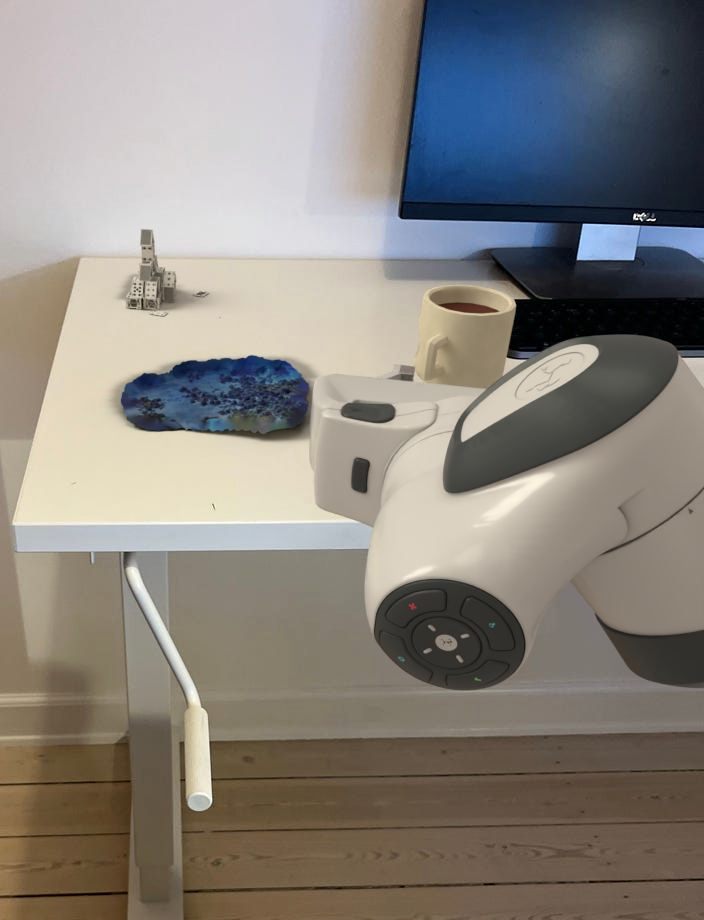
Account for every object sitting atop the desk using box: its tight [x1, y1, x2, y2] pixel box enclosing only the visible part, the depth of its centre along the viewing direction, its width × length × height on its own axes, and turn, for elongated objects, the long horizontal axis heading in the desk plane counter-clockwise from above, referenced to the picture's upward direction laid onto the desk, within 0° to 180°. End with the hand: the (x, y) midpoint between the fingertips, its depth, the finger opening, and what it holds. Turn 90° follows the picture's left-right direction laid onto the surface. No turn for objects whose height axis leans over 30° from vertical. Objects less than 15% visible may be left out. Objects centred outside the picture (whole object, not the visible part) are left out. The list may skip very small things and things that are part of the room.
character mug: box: [413, 284, 517, 389], centre depth 80 cm, size 11×7×13 cm, turn 140°
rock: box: [120, 354, 310, 435], centre depth 92 cm, size 15×17×2 cm
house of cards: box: [125, 228, 210, 317], centre depth 111 cm, size 9×9×8 cm
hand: (472, 382), depth 68 cm, fingers open, 8 cm apart
